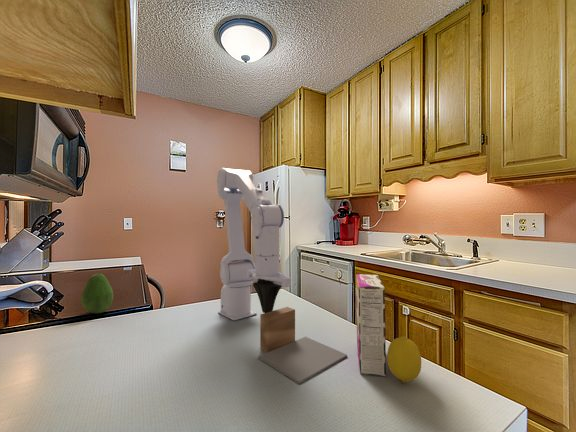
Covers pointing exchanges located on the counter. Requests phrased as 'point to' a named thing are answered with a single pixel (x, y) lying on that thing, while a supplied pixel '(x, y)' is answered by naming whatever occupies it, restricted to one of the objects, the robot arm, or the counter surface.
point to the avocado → (97, 294)
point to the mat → (302, 359)
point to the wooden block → (277, 328)
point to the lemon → (404, 359)
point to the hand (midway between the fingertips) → (267, 312)
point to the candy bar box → (371, 324)
